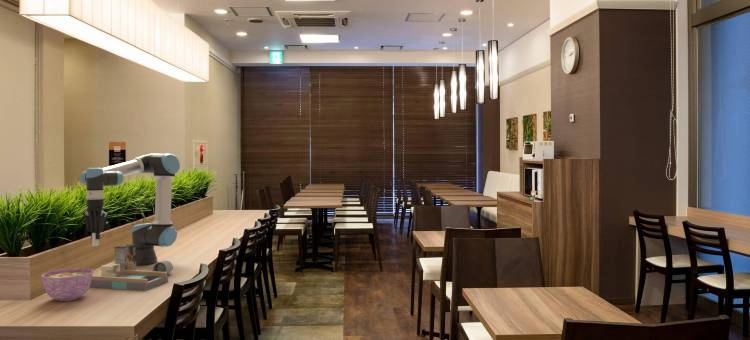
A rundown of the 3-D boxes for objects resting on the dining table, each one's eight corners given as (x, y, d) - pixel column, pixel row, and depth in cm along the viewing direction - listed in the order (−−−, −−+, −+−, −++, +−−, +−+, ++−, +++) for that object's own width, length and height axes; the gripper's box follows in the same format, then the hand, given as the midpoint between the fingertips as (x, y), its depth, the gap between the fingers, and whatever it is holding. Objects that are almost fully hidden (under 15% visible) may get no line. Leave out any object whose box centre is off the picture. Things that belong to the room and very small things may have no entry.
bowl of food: (60, 292, 244) (60, 267, 243) (102, 293, 243) (102, 268, 243) (30, 304, 224) (30, 277, 223) (77, 305, 223) (76, 278, 223)
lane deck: (113, 278, 272) (112, 268, 272) (168, 281, 265) (167, 271, 265) (86, 286, 255) (86, 276, 254) (145, 290, 248) (144, 280, 247)
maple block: (109, 275, 265) (109, 263, 265) (120, 275, 264) (119, 264, 264) (101, 277, 260) (101, 265, 259) (111, 278, 258) (111, 266, 258)
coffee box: (126, 273, 282) (126, 243, 282) (136, 274, 281) (136, 244, 281) (114, 277, 273) (114, 246, 273) (125, 278, 272) (125, 247, 272)
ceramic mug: (173, 273, 283) (173, 259, 283) (166, 276, 275) (166, 262, 275) (155, 273, 284) (154, 259, 284) (147, 276, 276) (146, 262, 276)
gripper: (78, 199, 260) (78, 246, 261) (100, 199, 258) (101, 247, 258) (89, 197, 268) (89, 243, 268) (111, 198, 265) (112, 245, 266)
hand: (95, 245), depth 263 cm, fingers closed
